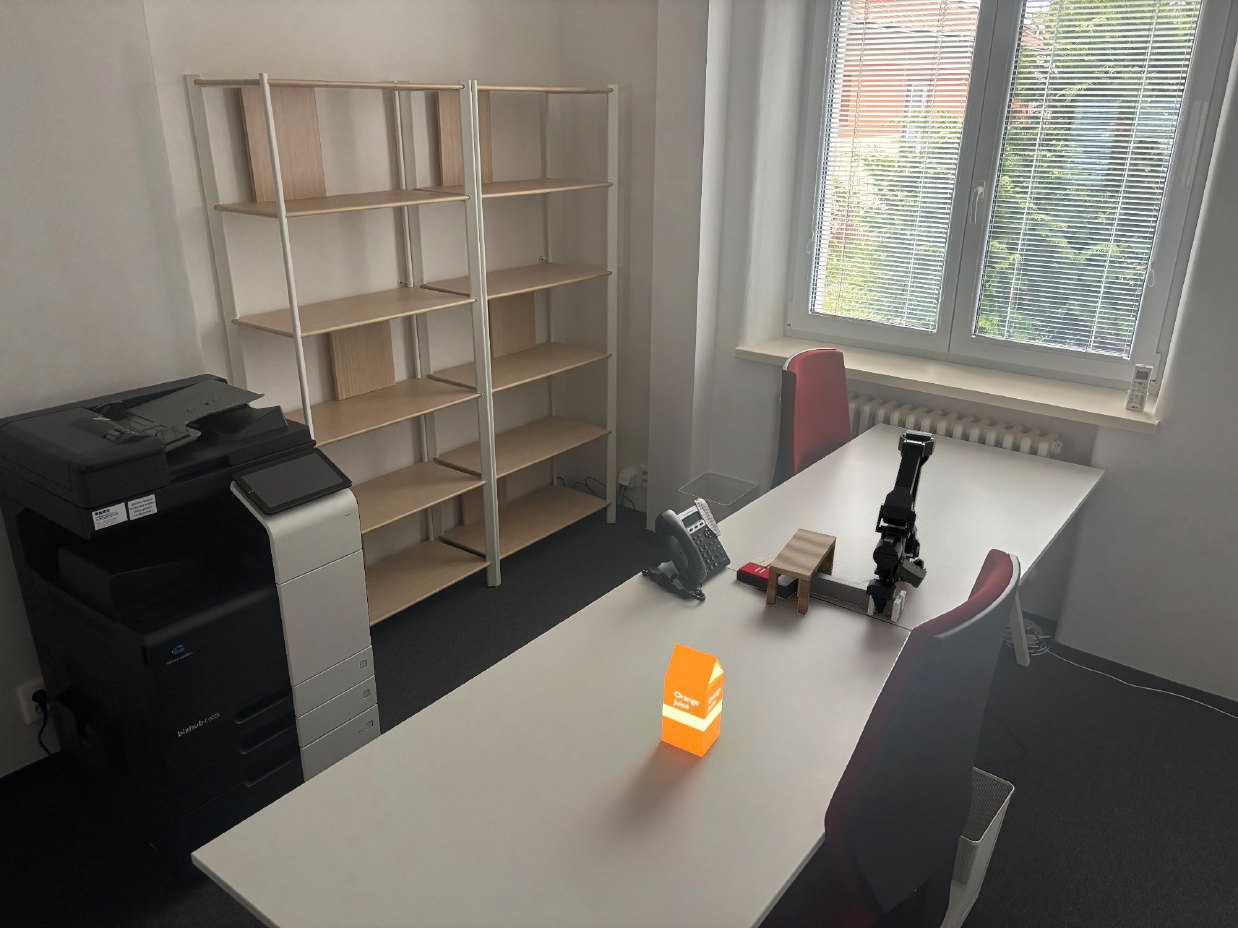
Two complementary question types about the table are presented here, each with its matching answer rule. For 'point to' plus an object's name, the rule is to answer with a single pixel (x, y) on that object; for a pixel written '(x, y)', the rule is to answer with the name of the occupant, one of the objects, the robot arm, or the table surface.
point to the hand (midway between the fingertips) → (883, 607)
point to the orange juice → (692, 700)
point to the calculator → (766, 577)
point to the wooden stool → (801, 564)
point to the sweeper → (852, 594)
